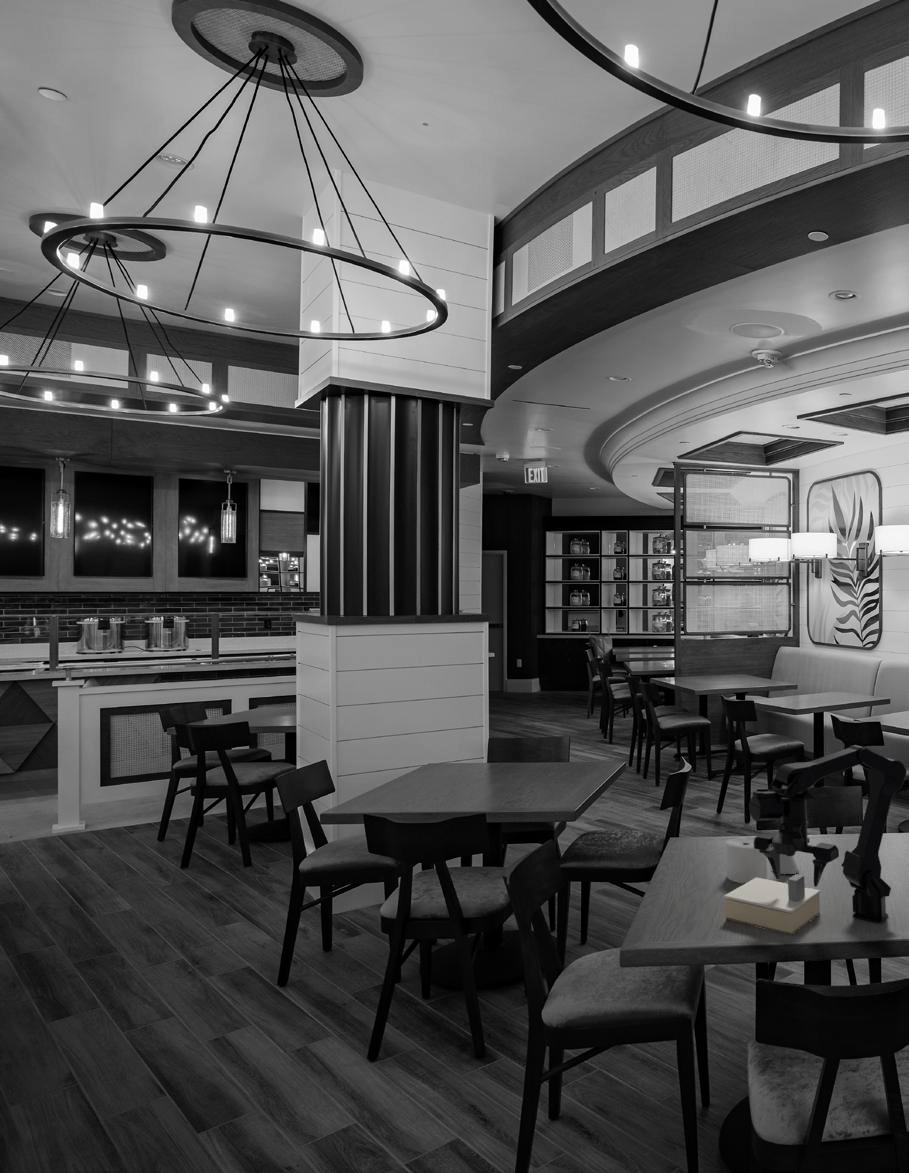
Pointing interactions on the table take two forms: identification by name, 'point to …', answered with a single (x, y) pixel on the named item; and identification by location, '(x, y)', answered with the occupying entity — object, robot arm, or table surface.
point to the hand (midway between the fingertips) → (796, 882)
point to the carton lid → (774, 893)
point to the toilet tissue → (744, 861)
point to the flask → (787, 865)
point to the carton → (772, 915)
